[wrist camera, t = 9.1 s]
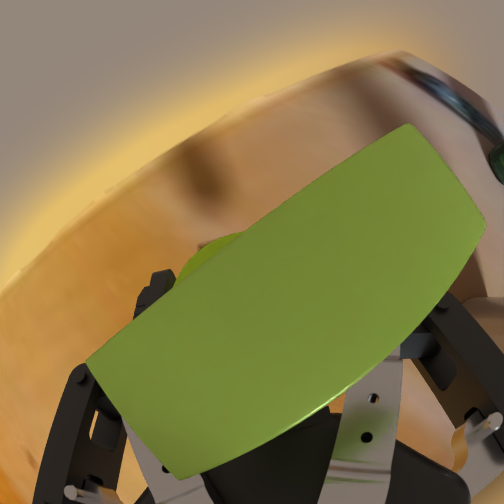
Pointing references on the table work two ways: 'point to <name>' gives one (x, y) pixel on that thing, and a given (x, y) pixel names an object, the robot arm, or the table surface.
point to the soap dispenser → (292, 306)
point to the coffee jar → (498, 161)
